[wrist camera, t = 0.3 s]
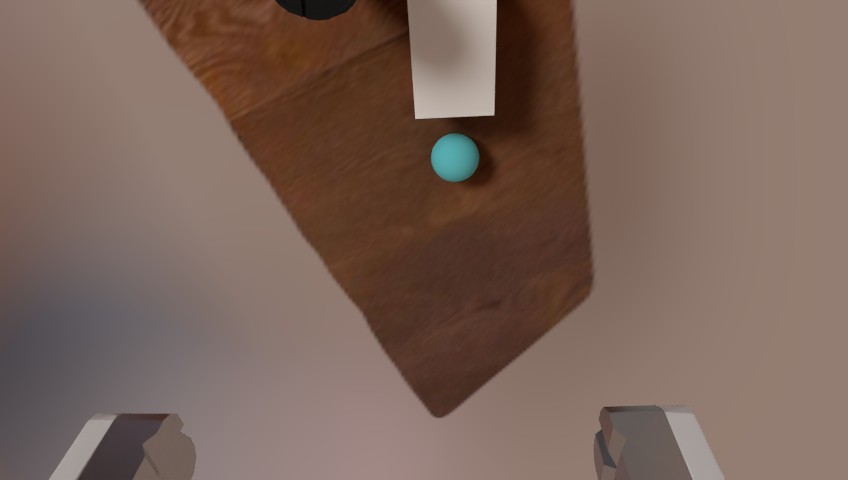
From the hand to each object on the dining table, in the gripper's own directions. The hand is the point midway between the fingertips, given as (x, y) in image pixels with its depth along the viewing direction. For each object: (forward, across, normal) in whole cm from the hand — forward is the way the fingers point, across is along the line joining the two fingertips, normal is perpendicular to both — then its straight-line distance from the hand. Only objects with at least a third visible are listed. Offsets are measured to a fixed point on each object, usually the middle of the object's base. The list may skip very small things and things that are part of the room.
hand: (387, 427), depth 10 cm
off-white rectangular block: (+46, -2, +3) cm, 46 cm away
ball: (+43, -2, +15) cm, 46 cm away
